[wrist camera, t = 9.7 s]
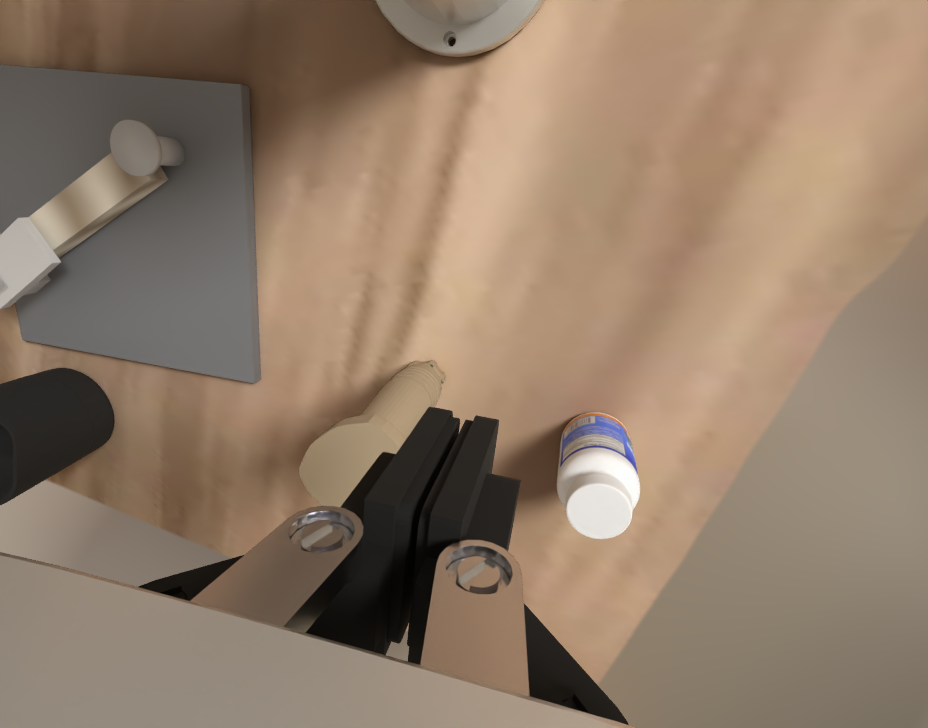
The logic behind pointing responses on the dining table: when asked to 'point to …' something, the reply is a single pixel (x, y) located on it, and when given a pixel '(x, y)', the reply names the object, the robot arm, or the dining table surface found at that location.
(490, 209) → the dining table surface
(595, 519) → the pill bottle
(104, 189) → the link
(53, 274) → the board
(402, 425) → the handle
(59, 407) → the pen holder
